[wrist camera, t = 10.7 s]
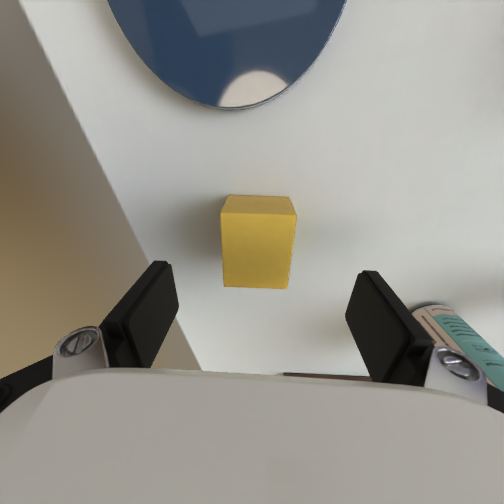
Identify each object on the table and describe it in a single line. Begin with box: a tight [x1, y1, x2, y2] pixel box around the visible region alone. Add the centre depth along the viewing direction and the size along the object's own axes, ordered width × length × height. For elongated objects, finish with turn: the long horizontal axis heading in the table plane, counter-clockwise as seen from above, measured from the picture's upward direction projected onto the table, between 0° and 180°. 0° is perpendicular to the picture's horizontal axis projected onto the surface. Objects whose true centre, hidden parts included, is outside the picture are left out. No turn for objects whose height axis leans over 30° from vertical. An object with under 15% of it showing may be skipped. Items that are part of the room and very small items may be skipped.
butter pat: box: [220, 195, 297, 289], centre depth 16 cm, size 4×6×4 cm
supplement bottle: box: [411, 305, 504, 392], centre depth 16 cm, size 5×5×12 cm
